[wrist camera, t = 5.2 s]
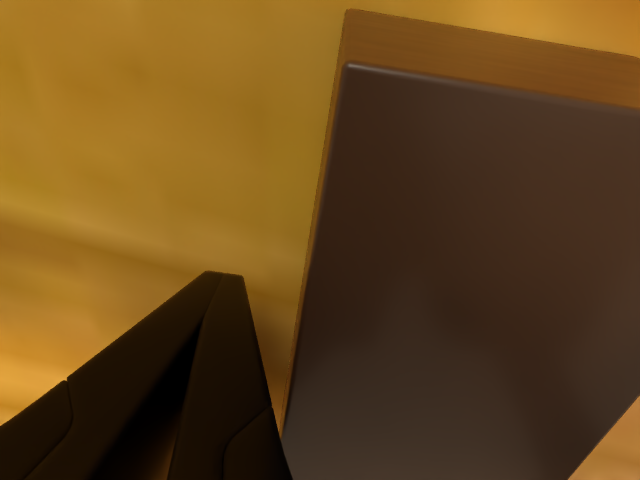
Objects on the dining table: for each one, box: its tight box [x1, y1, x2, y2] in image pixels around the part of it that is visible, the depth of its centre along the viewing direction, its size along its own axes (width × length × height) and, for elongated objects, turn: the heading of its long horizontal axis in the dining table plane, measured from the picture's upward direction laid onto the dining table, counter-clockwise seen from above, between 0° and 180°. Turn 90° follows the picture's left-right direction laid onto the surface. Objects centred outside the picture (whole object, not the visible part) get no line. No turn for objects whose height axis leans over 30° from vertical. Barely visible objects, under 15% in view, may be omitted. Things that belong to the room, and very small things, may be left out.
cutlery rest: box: [279, 9, 640, 480], centre depth 9 cm, size 10×5×4 cm, turn 172°
